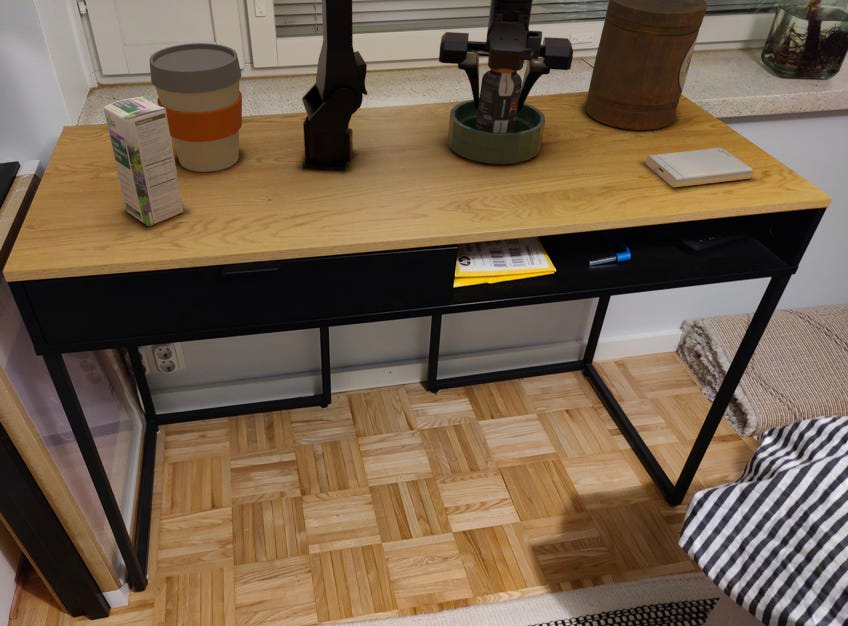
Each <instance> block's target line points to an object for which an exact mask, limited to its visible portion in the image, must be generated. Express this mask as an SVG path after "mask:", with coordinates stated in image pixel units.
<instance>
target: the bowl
mask: <svg viewBox="0 0 848 626" xmlns="http://www.w3.org/2000/svg"><path fill="white" fill-rule="evenodd" d="M477 113H478V109H476V108H475V104H474V99H468V100H464V101H462V102H460V103H457V104H455V106H453V107H452V108H451V109H450V113H449V122H448V123H449V125H448V135H447V145H448V147H449V148H450V150H451V151H452V152H454V153H455V154H457V155H458V156H460V157H463V158H465V159H468V160H470V161H475V162H479V163H483V164H492V165H507V164H517V163H521V162H524V161H528V160H530V159H532V158H534V157H535V156H537V155H538V153H539V152H540V151H541V149H542V143H543V137H544V131H545V126H546V116H545V114H544V113H543V112H542V111H541V110H540V109H539V108H537V107H535V106H534V105H532V104H529V103H526V102H524V104H523V106H522V108H521V110H520V112H518V111H517V115H516V120H515V126H514V133H491V132H485V131H480V130H476V129H475V128H476V120H477Z"/></svg>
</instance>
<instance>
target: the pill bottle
mask: <svg viewBox="0 0 848 626" xmlns="http://www.w3.org/2000/svg"><path fill="white" fill-rule="evenodd" d="M489 69H490V70H488V71H485V73H484V74H483V75H482V78H481V84H480V89H479V106H478V113H477V120H476V128H475V129H476V130H480V131H485V132H491V133H514V126H515V120H516V115H517V108H518V102H519V97H520V91H521V86H522V82H523V78H522V76H521V75H520V74H519V73H518V71H512V70H511V69H498V70H494V69H491V68H489Z"/></svg>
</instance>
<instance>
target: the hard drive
mask: <svg viewBox="0 0 848 626" xmlns="http://www.w3.org/2000/svg"><path fill="white" fill-rule="evenodd" d="M644 164H645V165H646V166H648V168H649V169H651V171H653V172H654V173H655V174H656V175H658V176H659V177H660V178H661V179H663V180H664V182H665V183H667V184H668V185H669V186H671V187H672V188H678V187H679V188H681V187H688V186H696V185H697V186H698V185H706V184H714V183H721V182H723V183H724V182H731V181H739V180H749V179H751V178H752V175H753V173H754V170H753V168H752V167H750V166H749V165H747V163H745V162H744V161H741V160H740V159H739V158H738V157H736V156H735V155H733V154H731V153H730V152H729V151H727V150H726V149H725V148H723V147H713V148H705V149H696V150H687V151H686V150H685V151H675V152H666V153H658V154H649V155H647V156H646V158H645V161H644Z"/></svg>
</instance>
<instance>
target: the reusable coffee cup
mask: <svg viewBox="0 0 848 626" xmlns="http://www.w3.org/2000/svg"><path fill="white" fill-rule="evenodd" d="M149 70H150V81H151V83H152V85H153V86H154V87H155V90H156V93H157V96H158V97H157V100H156V102H157V103H156V104H157V105H159V106H160V107H164V108H165V109H166V114H167V120H168V125H169V131H170V137H171V141H172V144H173V146H174V149H175V153H176V155H177V159H178V162H179V164H180V166H182V167H183V168H184V169H186V170H189V171H193V172H201V173H208V172H209V173H211V172H216V171H217V172H218V171H221V170H225V169H227V168H230V167H232V166H233V165H235V164H236V163H237V162H238V161H239V156H240V130H241V128H242V125H243V93H242V92H241V90H240V80H241V78H242V71H241V66H240V61H239V57H238V53H237V51H236V50H235V49H233V48H232V47H230V46H227V45H223V44H217V43H208V42H207V43H206V42H195V43H194V42H193V43H183V44H177V45H172V46H168V47H165V48H162V49H160V50H158V51H156V52H153V54H152V55H150V57H149Z"/></svg>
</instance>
